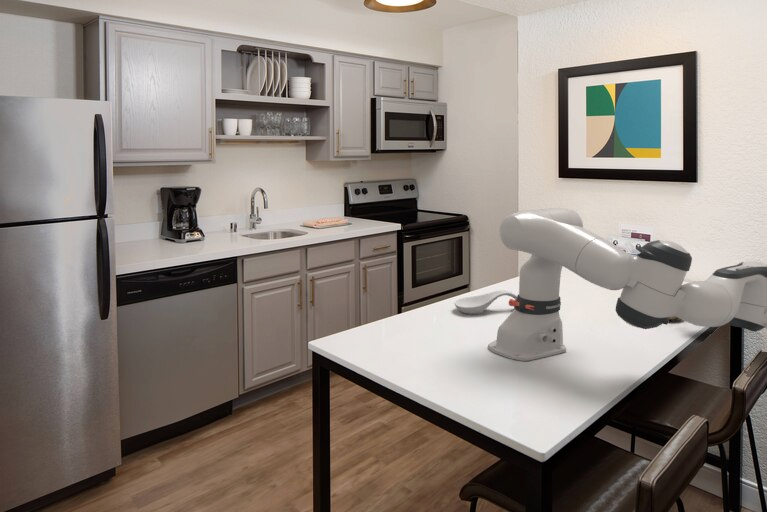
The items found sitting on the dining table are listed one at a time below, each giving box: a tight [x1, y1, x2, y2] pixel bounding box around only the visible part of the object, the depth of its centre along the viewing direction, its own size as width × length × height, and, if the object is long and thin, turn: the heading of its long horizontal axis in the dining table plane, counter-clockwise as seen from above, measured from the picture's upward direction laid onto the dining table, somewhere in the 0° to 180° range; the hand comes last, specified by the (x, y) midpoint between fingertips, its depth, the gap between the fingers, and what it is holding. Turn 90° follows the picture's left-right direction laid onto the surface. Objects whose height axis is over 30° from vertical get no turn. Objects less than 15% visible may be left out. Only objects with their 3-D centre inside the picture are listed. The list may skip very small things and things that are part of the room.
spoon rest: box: [453, 289, 518, 315], centre depth 191 cm, size 24×12×7 cm, turn 96°
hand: (689, 293), depth 173 cm, fingers open, 8 cm apart
